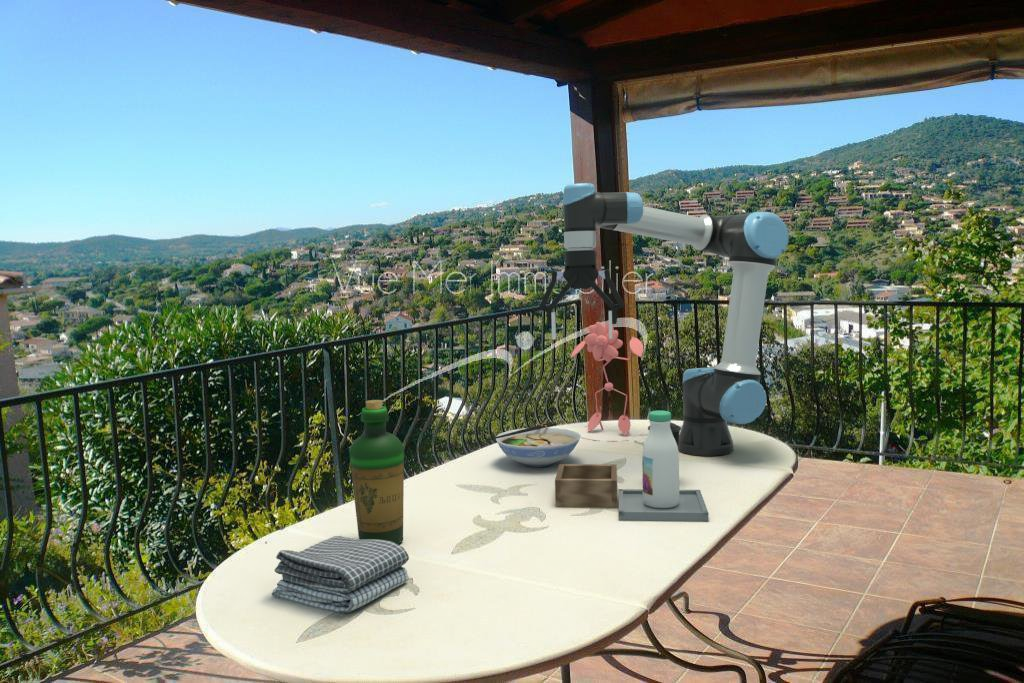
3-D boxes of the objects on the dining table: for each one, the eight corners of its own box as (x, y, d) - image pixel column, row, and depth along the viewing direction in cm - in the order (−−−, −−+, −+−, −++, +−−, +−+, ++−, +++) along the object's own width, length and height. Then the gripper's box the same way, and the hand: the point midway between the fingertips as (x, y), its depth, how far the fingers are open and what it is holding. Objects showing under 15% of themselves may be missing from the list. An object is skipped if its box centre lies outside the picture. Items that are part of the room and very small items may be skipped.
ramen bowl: (533, 481, 191) (532, 448, 190) (475, 465, 208) (473, 435, 208) (602, 462, 208) (601, 431, 207) (543, 448, 225) (542, 420, 224)
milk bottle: (681, 499, 170) (680, 409, 168) (676, 510, 163) (675, 416, 161) (646, 497, 172) (644, 407, 170) (639, 508, 165) (638, 415, 163)
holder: (617, 489, 182) (616, 464, 182) (617, 507, 169) (616, 480, 169) (559, 489, 184) (559, 464, 184) (555, 507, 171) (554, 480, 170)
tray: (700, 497, 174) (699, 489, 174) (708, 521, 159) (708, 512, 158) (618, 496, 177) (618, 489, 176) (619, 520, 161) (618, 511, 161)
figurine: (581, 426, 252) (577, 318, 248) (653, 435, 237) (651, 320, 233) (555, 436, 240) (550, 323, 236) (630, 446, 225) (626, 325, 220)
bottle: (362, 557, 145) (354, 408, 142) (346, 540, 154) (339, 400, 152) (416, 546, 150) (410, 402, 147) (398, 530, 159) (391, 394, 156)
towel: (353, 620, 120) (351, 571, 119) (268, 598, 129) (265, 552, 128) (412, 583, 133) (410, 538, 132) (331, 565, 142) (329, 524, 141)
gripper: (632, 248, 188) (634, 336, 190) (529, 251, 191) (532, 337, 193) (633, 247, 180) (635, 339, 183) (526, 251, 184) (529, 341, 186)
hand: (582, 338), depth 188 cm, fingers open, 13 cm apart
